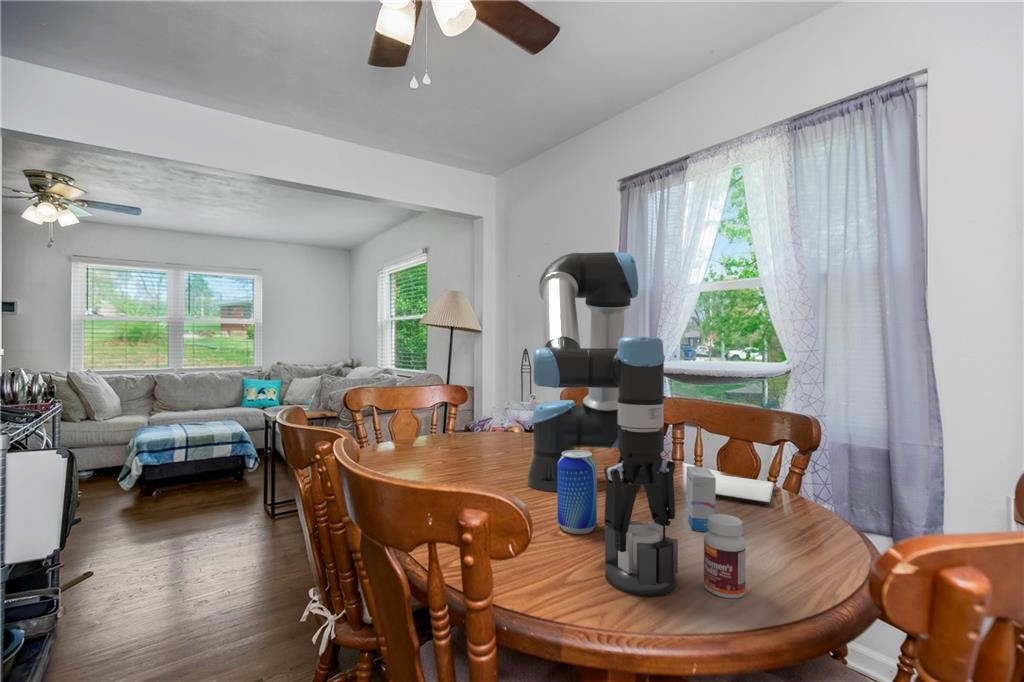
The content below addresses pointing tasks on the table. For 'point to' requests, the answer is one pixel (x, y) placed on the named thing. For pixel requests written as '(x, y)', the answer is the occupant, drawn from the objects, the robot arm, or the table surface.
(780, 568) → the table surface
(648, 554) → the dark faceted crown
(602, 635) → the table surface
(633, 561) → the cap
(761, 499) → the plate
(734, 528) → the pill bottle
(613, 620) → the table surface
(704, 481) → the ink box
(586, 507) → the beer can
